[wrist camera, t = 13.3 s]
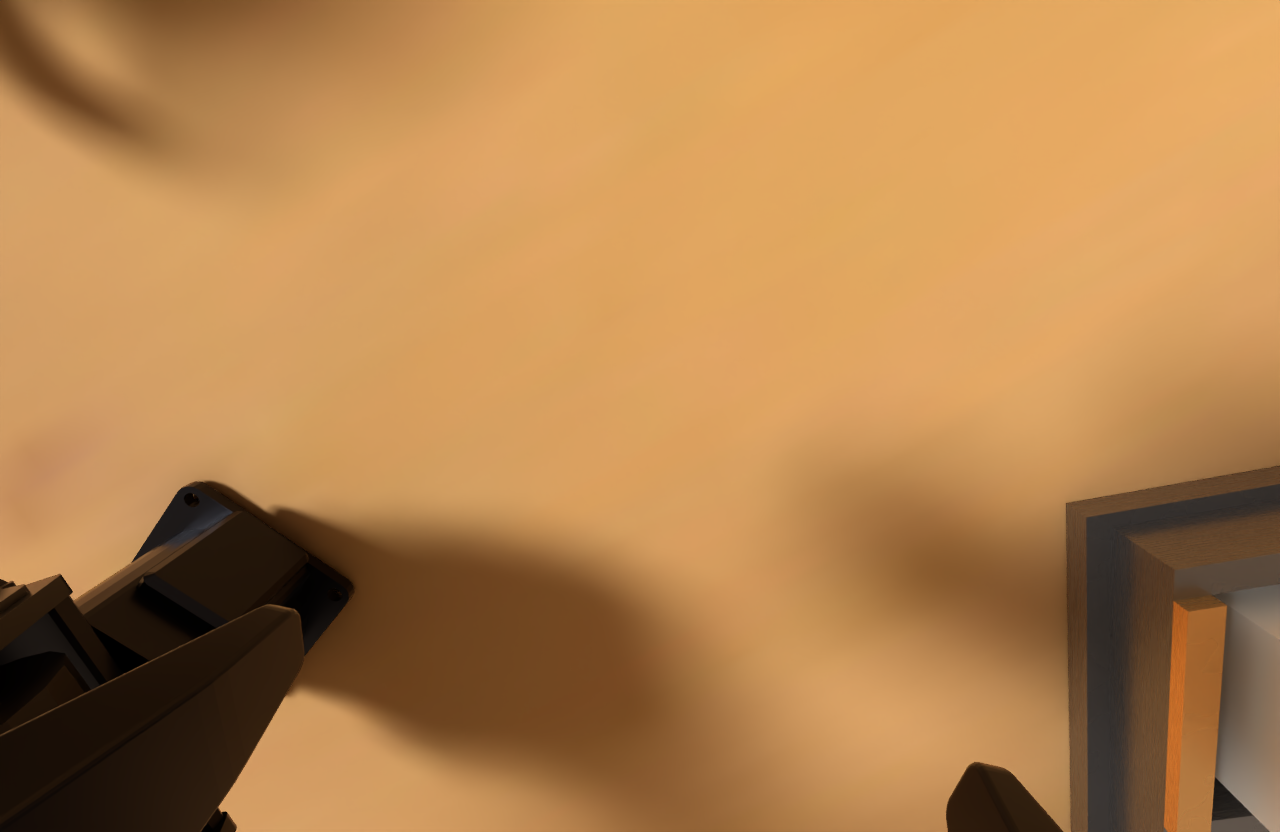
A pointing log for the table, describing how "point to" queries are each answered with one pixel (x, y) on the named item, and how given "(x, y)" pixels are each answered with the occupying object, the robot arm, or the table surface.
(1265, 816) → the white rectangular block
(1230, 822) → the rack
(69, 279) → the table surface
